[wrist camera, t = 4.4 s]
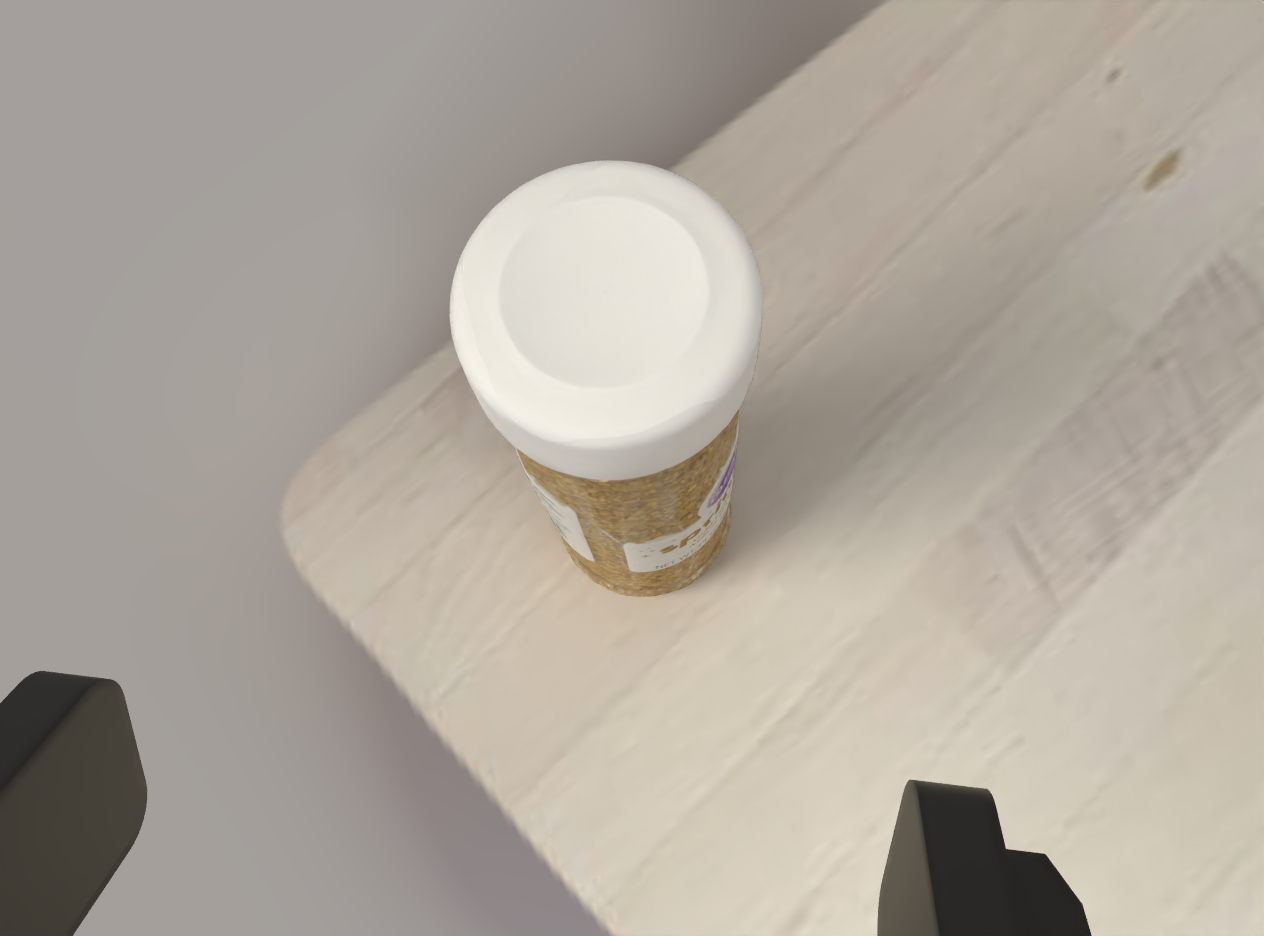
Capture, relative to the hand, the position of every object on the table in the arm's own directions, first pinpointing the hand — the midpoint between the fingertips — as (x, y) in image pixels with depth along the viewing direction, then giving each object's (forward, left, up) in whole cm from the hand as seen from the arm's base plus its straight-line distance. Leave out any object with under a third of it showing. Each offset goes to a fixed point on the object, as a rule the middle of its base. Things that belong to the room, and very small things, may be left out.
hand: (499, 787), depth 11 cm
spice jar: (-5, +4, -16) cm, 17 cm away
